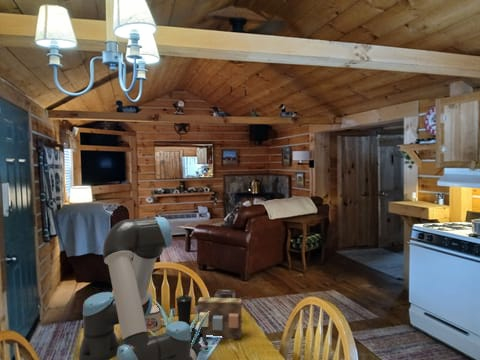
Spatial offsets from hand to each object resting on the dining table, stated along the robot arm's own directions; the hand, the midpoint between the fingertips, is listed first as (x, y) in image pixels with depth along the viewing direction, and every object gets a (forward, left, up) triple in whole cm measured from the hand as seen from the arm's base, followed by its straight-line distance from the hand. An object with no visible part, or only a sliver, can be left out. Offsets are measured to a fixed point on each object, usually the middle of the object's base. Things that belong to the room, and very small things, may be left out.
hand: (200, 324), depth 145 cm
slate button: (+10, +5, -5) cm, 12 cm away
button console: (+13, +9, -11) cm, 19 cm away
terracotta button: (+17, +4, -5) cm, 18 cm away
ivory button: (+6, +11, -5) cm, 13 cm away
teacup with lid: (-13, +29, -11) cm, 34 cm away
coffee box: (+19, +18, -11) cm, 29 cm away
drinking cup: (0, +24, -11) cm, 27 cm away
